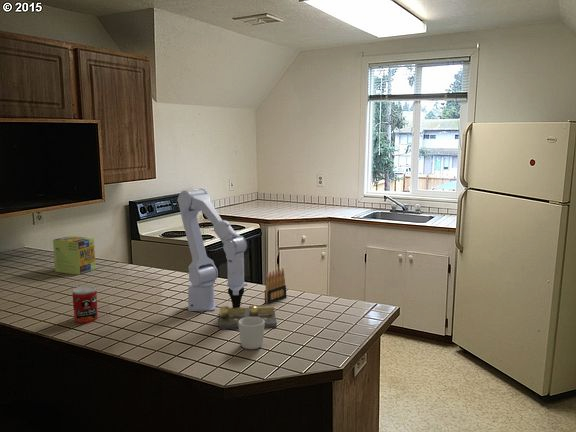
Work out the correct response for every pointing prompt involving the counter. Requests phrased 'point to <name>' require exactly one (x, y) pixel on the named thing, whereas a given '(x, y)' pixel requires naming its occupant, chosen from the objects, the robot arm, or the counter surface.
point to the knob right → (260, 310)
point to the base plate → (233, 320)
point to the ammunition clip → (275, 287)
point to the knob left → (231, 311)
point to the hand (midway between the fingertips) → (236, 308)
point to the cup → (251, 332)
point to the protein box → (74, 255)
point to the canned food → (85, 304)
